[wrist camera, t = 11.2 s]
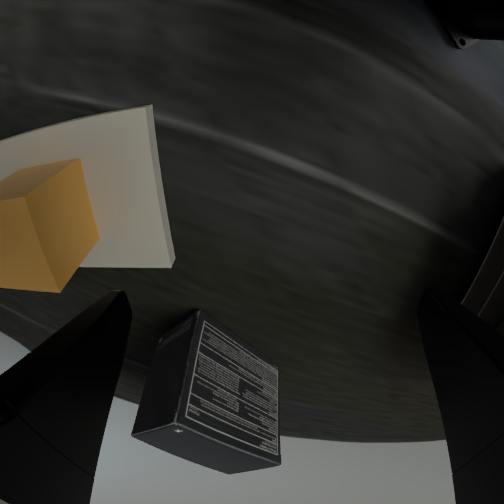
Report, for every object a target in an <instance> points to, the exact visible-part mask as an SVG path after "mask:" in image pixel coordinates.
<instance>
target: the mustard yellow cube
mask: <svg viewBox="0 0 504 504" xmlns="http://www.w3.org/2000/svg"><path fill="white" fill-rule="evenodd" d="M99 239H100V237H99V234H98V230H97V226H96V223H95V219H94V215H93V211H92V208H91V204H90V200H89V196H88V191H87V187H86V183H85V178H84V174H83V169H82V164H81V159H80V158H76V159H70V160H65V161H59V162H54V163H48V164H43V165H38V166H33V167H29V168H24V169H20V170H17V171H16V172H14V173H13V174H11V175H9V176H8V177H6V178H5V179H3V180H2V181H0V288H10V289H21V290H32V291H43V292H56V293H60V292H61V291H62V289H63V288H64V287H65V285H66V284H67V282H68V281H69V279H70V278H71V277H72V275H73V274H74V272H75V271H76V270H77V268H78V267H79V266H80V264H81V263H82V262H83V260H84V259H85V257H86V256H87V255H88V254H89V252H90V251H91V250H92V248H93V247H94V246H95V244H96V243H97V242H98V240H99Z"/></svg>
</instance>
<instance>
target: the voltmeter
mask: <svg viewBox="0 0 504 504" xmlns="http://www.w3.org/2000/svg"><path fill="white" fill-rule="evenodd" d="M459 303H460V304H462V305H463V306H465V307H466V308H467V309H469V310H470V311H471V312H473V313H474V314H475V315H477V316H478V317H479V318H481V319H482V320H483V321H485V322H486V323H487V324H488V325H490V326H491V327H492V328H494V329H495V330H496V331H497V332H499V333H500V334H501V335H503V336H504V218H503V220H502V222H501V225H500V227H499V229H498V232H497V234H496V236H495V239H494V241H493V243H492V245H491V247H490V249H489V252H488V254H487V256H486V258H485V260H484V262H483V264H482V266H481V268H480V270H479V272H478V274H477V276H476V277H475V279H474V281H473V283H472V285H471V287H470V289H469V290H468V292H467V294H466V296H465V298H464V299H463V300H462V301H460V302H459Z"/></svg>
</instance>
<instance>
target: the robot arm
mask: <svg viewBox="0 0 504 504" xmlns="http://www.w3.org/2000/svg"><path fill="white" fill-rule="evenodd" d="M424 1H425V3H426V4H427V5H428V7H429V8H430V9H431V11H432V12H433V14H434V15H435V16H436V18H437V19H438V21H439V22H440V24H441V25H442V27H443V28H444V30H445V31H446V33H447V34H448V36H449V37H450V39H451V40H452V42H453V44H454V45H455V46H456V48H458V49H462V50H465V49H467V48H469V47H470V46H471V45H473V44H474V43H476V42H477V41H479V40H480V39H481V40H503V41H504V0H424ZM460 39H461V40H462V45H461V44H460V42H459V40H460ZM417 316H418V320H419V325H420V330H421V335H422V340H423V345H424V350H425V355H426V359H427V363H428V366H429V370H430V373H431V377H432V381H433V384H434V388H435V392H436V396H437V400H438V404H439V408H440V413H441V417H442V422H443V426H444V431H445V436H446V441H447V446H448V452H449V457H450V463H451V469H452V473H453V474H452V477H453V484H454V492H455V501H456V504H504V336H503V335H501V334H500V333H499V332H497V331H496V330H495V329H494V328H492V327H491V326H490V325H488V324H487V323H486V322H485V321H483V320H482V319H481V318H479V317H478V316H477V315H475V314H474V313H473V312H471V311H470V310H469V309H467V308H466V307H465V306H463V305H462V304H460V303H459V302H458V301H456V300H455V299H454V298H452V297H451V296H449V295H448V294H447V293H445V292H444V291H442V290H441V289H440V288H438V287H428V288H426V289H425V290H424V292H423V295H422V297H421V300H420V303H419V306H418V309H417ZM131 321H132V310H131V307H130V304H129V301H128V298H127V295H126V293H125V292H124V291H123V290H111V291H109V292H108V293H107V294H105V295H104V296H103V297H101V298H100V299H98V300H97V301H96V302H94V303H93V304H92V305H90V306H89V307H88V308H86V309H85V310H84V311H82V312H81V313H80V314H78V315H77V316H76V317H75V318H73V319H72V320H71V321H69V322H68V323H67V324H65V325H64V326H63V327H61V328H60V329H59V330H58V331H56V332H55V333H54V334H52V335H51V336H50V337H49V338H47V339H46V340H45V341H44V342H42V343H41V344H40V345H38V346H37V347H36V348H35V349H33V350H32V351H31V353H28V354H27V355H26V356H25V357H24V358H23V359H21V360H20V361H18V362H17V363H16V364H15V365H13V366H12V367H11V368H9V369H8V370H7V371H5V372H4V373H3V374H1V375H0V504H90V498H91V493H92V487H93V482H94V478H93V477H94V476H95V471H96V466H97V461H98V457H99V453H100V448H101V444H102V439H103V435H104V431H105V427H106V423H107V419H108V415H109V411H110V408H111V404H112V400H113V396H114V393H115V389H116V385H117V382H118V378H119V375H120V372H121V368H122V365H123V361H124V356H125V351H126V346H127V341H128V336H129V331H130V326H131Z"/></svg>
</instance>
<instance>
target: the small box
mask: <svg viewBox="0 0 504 504" xmlns="http://www.w3.org/2000/svg"><path fill="white" fill-rule="evenodd" d="M131 436H132V437H134V438H136V439H138V440H141V441H143V442H145V443H147V444H149V445H152V446H154V447H156V448H159V449H161V450H163V451H166V452H168V453H171V454H173V455H176V456H178V457H181V458H183V459H186V460H188V461H191V462H194V463H197V464H200V465H202V466H205V467H208V468H211V469H214V470H217V471H220V472H223V473H226V474H234V473H240V472H247V471H253V470H259V469H264V468H269V467H274V466H279V465H281V454H280V366H279V365H278V364H276V363H275V362H273V361H272V360H270V359H269V358H268V357H266V356H265V355H263V354H262V353H260V352H259V351H257V350H256V349H255V348H253V347H252V346H250V345H249V344H247V343H246V342H245V341H243V340H242V339H240V338H239V337H238V336H236V335H235V334H233V333H232V332H230V331H229V330H228V329H226V328H225V327H224V326H222V325H221V324H220V323H218V322H217V321H215V320H214V319H213V318H211V317H210V316H209V315H207V314H206V313H205V312H203V311H202V310H198V311H196V312H194V313H193V314H191V316H189V317H187V318H186V319H185V320H184V321H182V322H181V323H179V324H178V325H176V326H175V327H173V328H172V329H171V330H168V331H167V332H166V333H164V334H163V335H162V336H161V337H159V340H158V344H157V347H156V350H155V354H154V357H153V360H152V363H151V367H150V370H149V374H148V377H147V381H146V384H145V387H144V391H143V394H142V398H141V401H140V405H139V408H138V412H137V416H136V419H135V423H134V427H133V430H132V434H131Z"/></svg>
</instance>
